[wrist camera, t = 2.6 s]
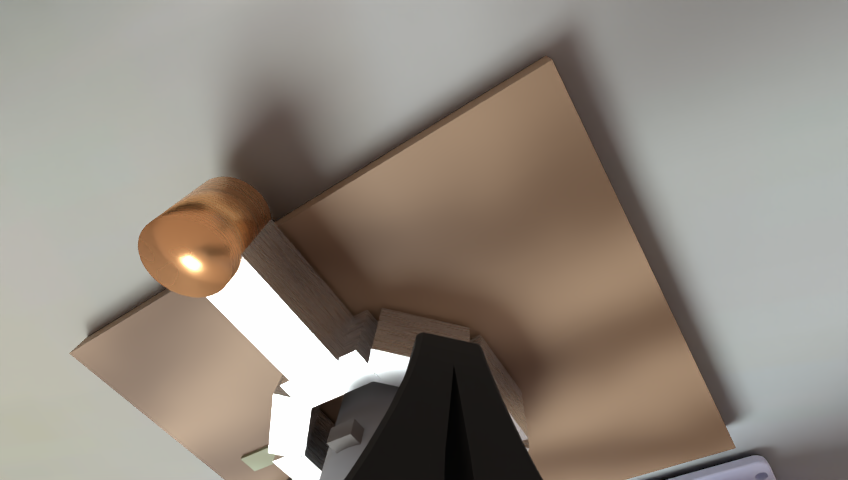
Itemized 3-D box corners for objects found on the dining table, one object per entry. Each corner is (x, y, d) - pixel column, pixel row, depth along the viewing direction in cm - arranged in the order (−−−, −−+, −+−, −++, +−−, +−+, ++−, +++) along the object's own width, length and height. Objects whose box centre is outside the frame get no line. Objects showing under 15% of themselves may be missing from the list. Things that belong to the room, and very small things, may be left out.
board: (723, 428, 20) (808, 566, 15) (333, 545, 27) (305, 667, 22) (546, 55, 13) (595, 89, 8) (86, 337, 20) (-33, 446, 15)
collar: (553, 437, 19) (568, 507, 17) (374, 496, 22) (363, 564, 19) (316, 104, 13) (281, 131, 11) (113, 245, 16) (46, 294, 13)
